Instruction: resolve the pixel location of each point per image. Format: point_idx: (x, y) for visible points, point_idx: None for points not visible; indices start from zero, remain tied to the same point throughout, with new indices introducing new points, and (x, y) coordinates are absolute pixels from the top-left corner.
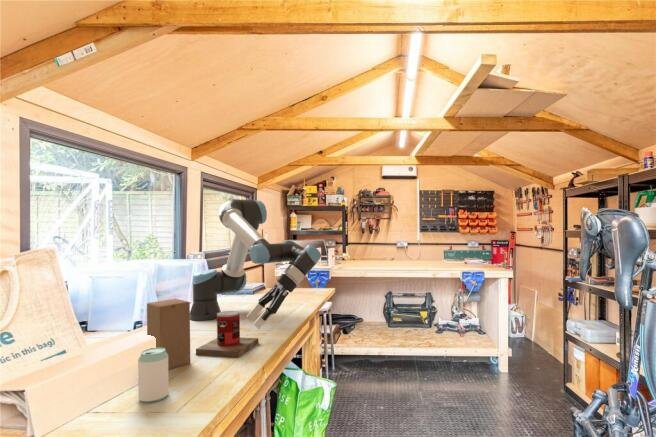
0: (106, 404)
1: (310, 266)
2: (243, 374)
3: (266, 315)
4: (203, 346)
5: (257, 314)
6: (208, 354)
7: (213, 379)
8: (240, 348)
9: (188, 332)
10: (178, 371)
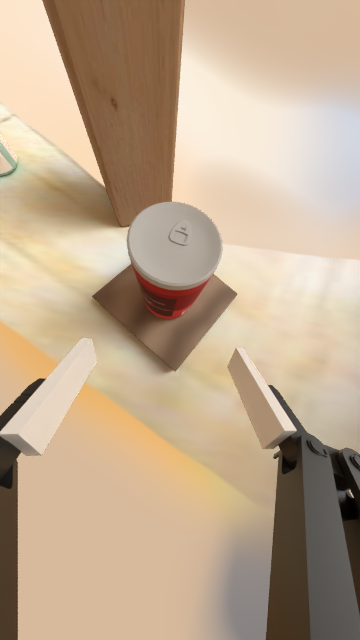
0: (23, 128)
1: None
2: None
3: (11, 412)
4: None
5: (240, 396)
6: None
7: (4, 239)
8: (112, 309)
9: (93, 145)
10: (91, 207)
